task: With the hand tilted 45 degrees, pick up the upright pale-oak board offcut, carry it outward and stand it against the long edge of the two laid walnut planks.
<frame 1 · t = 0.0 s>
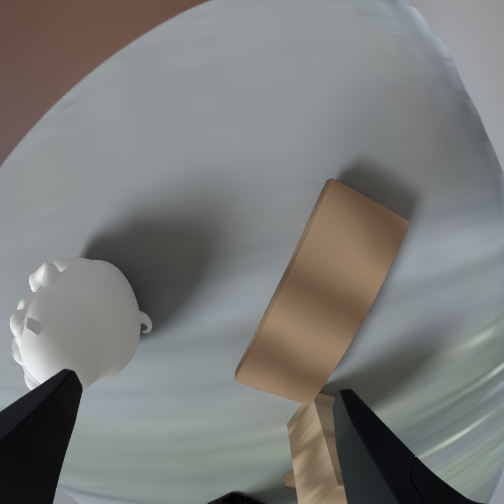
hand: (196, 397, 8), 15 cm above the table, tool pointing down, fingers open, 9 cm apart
upright offcut: (317, 413, 26), on the table
figurine: (111, 303, 24), on the table
plank stack: (316, 299, 24), on the table
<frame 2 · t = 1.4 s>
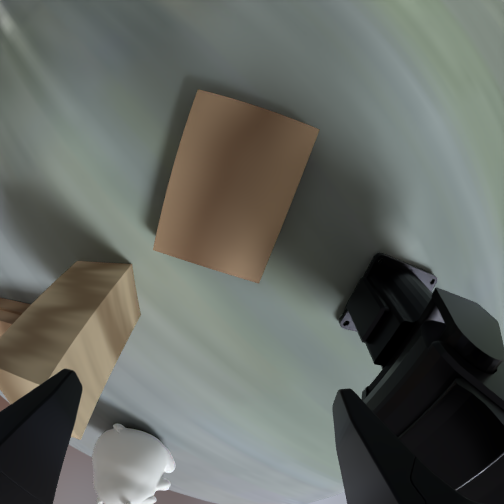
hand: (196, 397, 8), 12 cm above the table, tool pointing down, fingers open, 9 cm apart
upright offcut: (108, 288, 21), on the table
loose offcut: (231, 185, 17), on the table
figurine: (137, 433, 30), on the table
plank stack: (36, 331, 23), on the table
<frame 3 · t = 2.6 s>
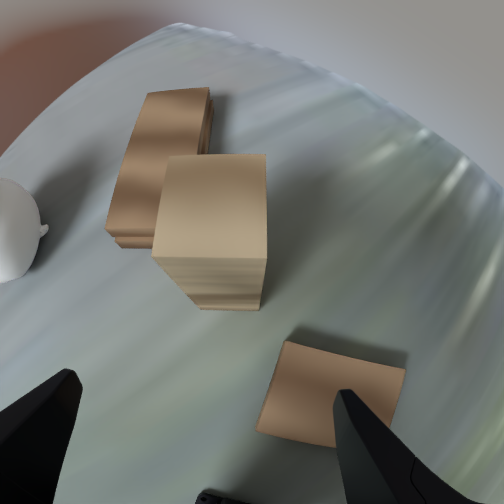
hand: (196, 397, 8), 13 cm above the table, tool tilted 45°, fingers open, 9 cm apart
upright offcut: (230, 279, 23), on the table
loose offcut: (331, 400, 19), on the table
figurine: (27, 246, 24), on the table
plank stack: (171, 168, 27), on the table
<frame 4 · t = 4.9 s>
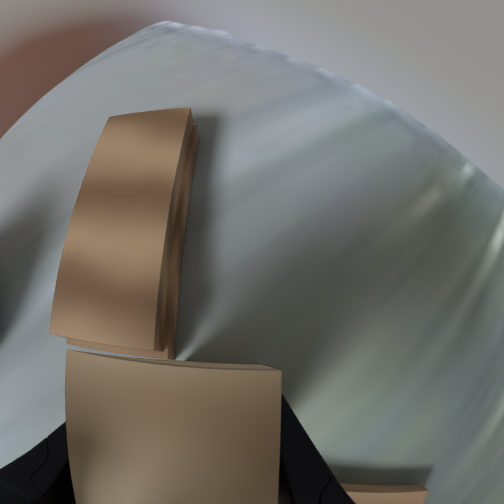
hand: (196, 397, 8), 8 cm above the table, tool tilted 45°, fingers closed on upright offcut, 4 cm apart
upright offcut: (220, 403, 15), on the table, touching gripper
plank stack: (138, 230, 19), on the table
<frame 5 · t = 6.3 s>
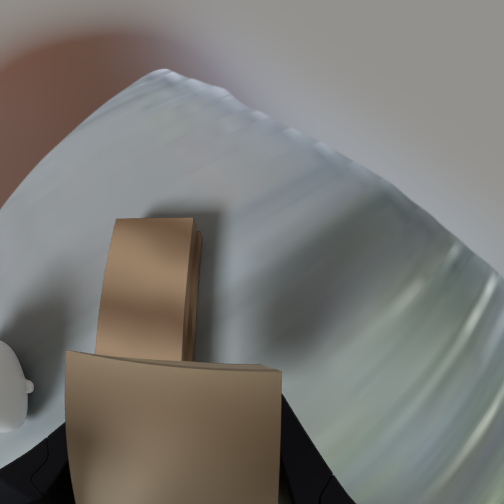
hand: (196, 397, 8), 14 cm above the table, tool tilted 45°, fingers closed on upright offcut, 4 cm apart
upright offcut: (220, 403, 15), point 6 cm above the table, touching gripper
figurine: (16, 386, 20), on the table
plank stack: (154, 332, 22), on the table
when the fingers open (9 cm above the table, at t = 7.6 s): upright offcut drops 1 cm, on the table.
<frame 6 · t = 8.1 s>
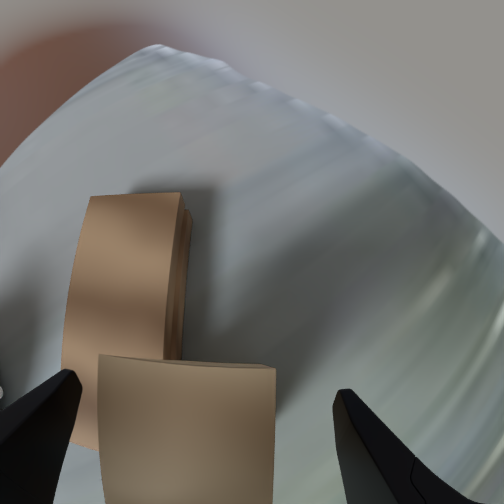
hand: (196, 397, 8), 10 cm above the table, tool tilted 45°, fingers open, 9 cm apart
upright offcut: (223, 400, 17), on the table
plank stack: (133, 332, 18), on the table
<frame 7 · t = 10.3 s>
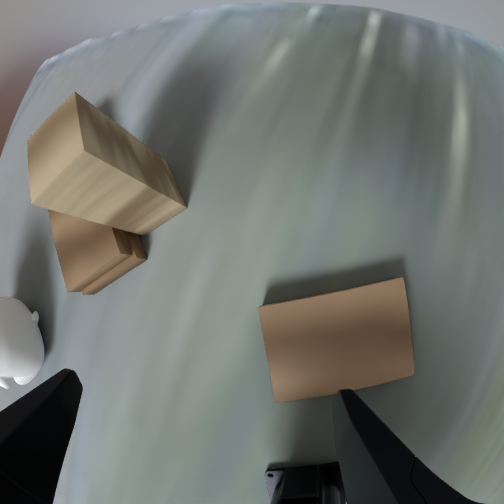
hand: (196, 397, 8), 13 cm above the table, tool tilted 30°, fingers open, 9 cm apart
upright offcut: (155, 197, 24), on the table
loose offcut: (338, 339, 19), on the table
figurine: (35, 334, 26), on the table
plank stack: (94, 199, 25), on the table
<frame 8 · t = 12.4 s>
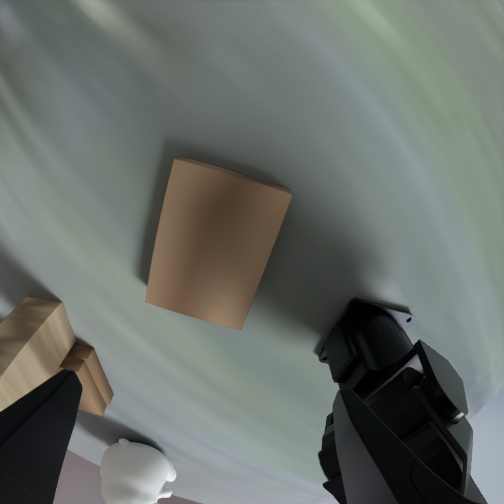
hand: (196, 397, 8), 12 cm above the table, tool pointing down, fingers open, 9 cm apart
upright offcut: (50, 318, 22), on the table
loose offcut: (213, 244, 19), on the table
figurine: (141, 445, 32), on the table
plank stack: (45, 358, 25), on the table
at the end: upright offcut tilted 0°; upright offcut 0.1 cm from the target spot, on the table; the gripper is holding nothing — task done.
